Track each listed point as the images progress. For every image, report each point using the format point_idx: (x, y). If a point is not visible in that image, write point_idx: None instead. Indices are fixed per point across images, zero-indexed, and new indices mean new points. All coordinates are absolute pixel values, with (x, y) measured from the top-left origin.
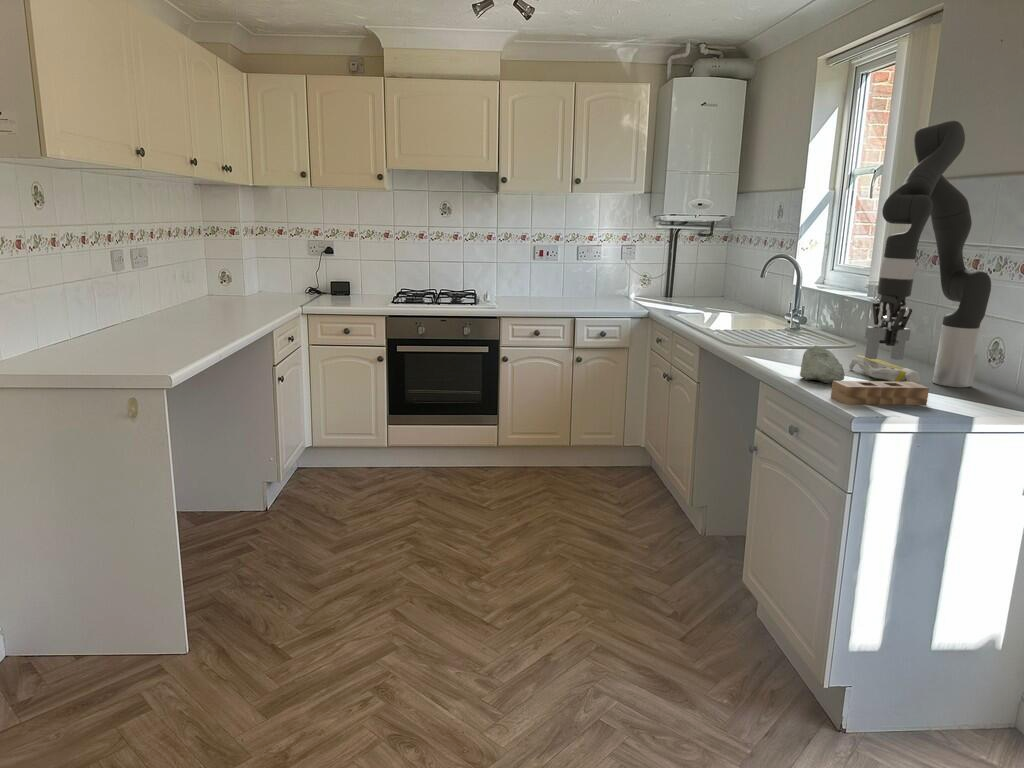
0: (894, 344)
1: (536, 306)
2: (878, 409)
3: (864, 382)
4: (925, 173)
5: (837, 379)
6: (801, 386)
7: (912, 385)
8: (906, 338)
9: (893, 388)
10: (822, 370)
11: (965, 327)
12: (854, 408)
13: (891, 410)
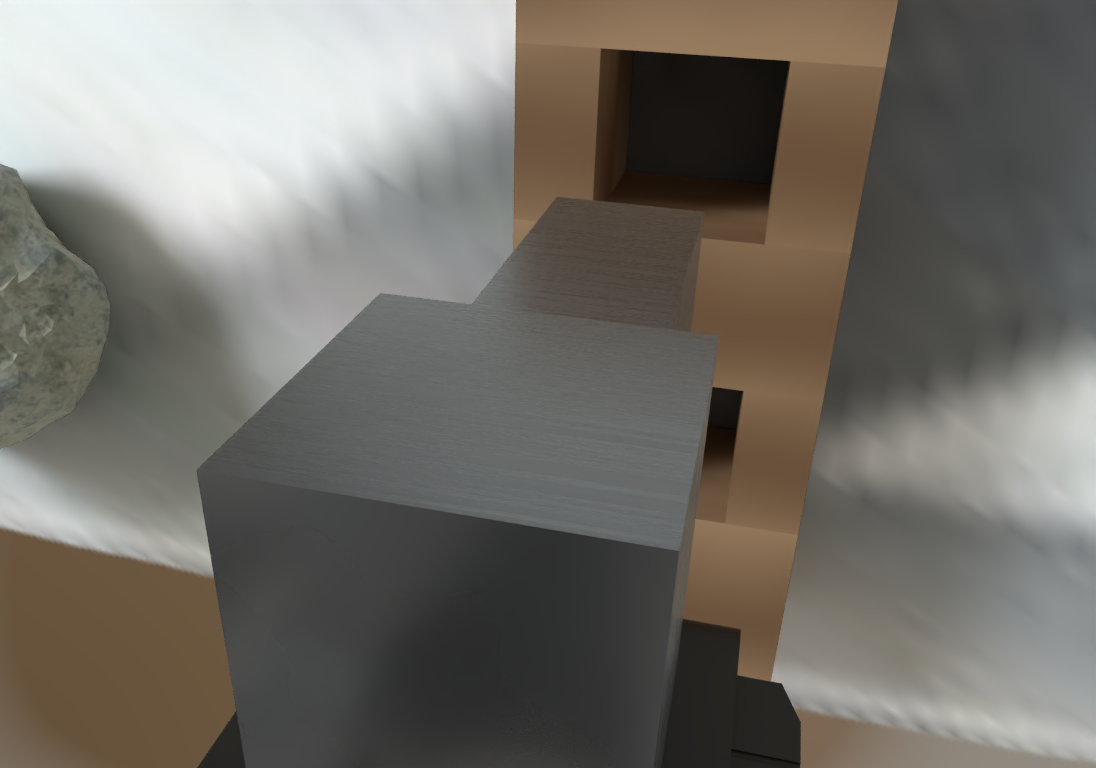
0: (737, 645)
1: None
2: (990, 451)
3: None
4: None
5: (102, 294)
6: (202, 545)
7: None
8: (703, 450)
9: (847, 263)
10: (20, 433)
11: None
12: (915, 616)
13: (1054, 358)
